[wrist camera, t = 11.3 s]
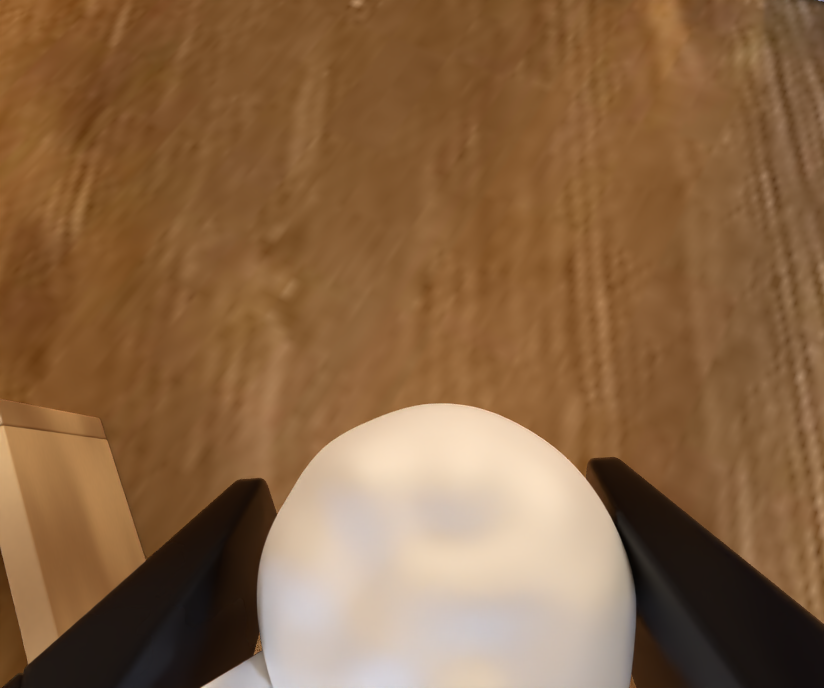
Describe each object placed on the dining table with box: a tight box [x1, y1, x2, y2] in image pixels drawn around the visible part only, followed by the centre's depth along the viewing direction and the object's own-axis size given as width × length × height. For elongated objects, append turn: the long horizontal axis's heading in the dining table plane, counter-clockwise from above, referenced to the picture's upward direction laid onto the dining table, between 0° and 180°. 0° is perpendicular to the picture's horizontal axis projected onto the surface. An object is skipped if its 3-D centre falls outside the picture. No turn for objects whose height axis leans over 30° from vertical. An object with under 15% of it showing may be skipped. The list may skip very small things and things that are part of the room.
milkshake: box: [199, 403, 636, 688], centre depth 9 cm, size 4×5×10 cm
